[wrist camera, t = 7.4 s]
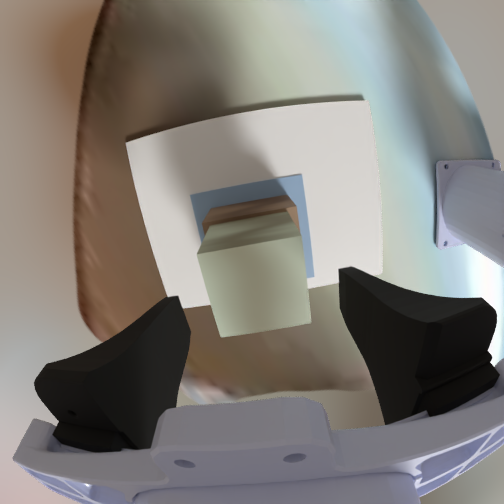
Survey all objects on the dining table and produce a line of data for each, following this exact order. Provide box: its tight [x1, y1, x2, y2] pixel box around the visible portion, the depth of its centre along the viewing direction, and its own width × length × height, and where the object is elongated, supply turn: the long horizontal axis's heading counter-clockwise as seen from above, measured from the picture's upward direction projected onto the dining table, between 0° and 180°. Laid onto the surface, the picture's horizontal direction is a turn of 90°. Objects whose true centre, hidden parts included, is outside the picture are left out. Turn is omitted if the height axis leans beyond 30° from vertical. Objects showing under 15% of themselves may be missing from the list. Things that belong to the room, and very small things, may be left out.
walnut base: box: [202, 195, 300, 235], centre depth 19 cm, size 6×6×4 cm
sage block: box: [197, 211, 311, 337], centre depth 15 cm, size 4×4×4 cm
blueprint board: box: [126, 100, 383, 308], centre depth 20 cm, size 18×14×1 cm
